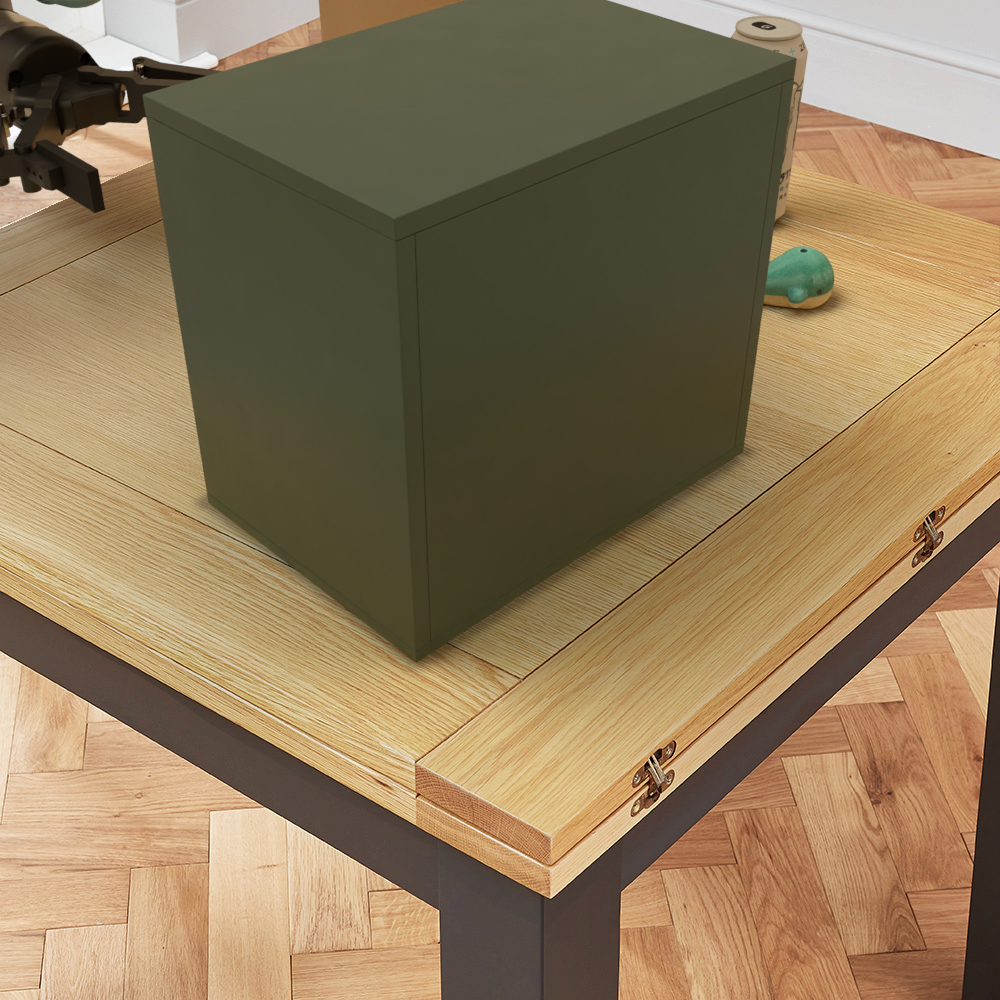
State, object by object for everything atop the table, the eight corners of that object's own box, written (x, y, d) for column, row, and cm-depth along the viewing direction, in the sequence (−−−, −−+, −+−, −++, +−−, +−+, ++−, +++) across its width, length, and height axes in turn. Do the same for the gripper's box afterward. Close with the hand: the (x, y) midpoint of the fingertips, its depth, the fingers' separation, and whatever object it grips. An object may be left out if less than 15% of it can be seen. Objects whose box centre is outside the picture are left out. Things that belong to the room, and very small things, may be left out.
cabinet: (208, 505, 77) (141, 94, 62) (531, 343, 91) (537, -22, 77) (416, 666, 67) (394, 218, 52) (743, 455, 81) (797, 57, 66)
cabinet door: (406, 182, 112) (393, -127, 97) (597, 312, 94) (615, -40, 80) (333, 202, 109) (309, -114, 94) (517, 339, 91) (521, -21, 77)
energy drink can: (747, 241, 103) (772, 46, 94) (691, 214, 107) (709, 24, 98) (799, 220, 106) (828, 28, 97) (743, 194, 110) (766, 7, 101)
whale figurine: (843, 315, 94) (852, 266, 92) (744, 325, 93) (750, 276, 91) (812, 276, 99) (819, 229, 97) (716, 286, 98) (722, 238, 96)
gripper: (181, 85, 109) (344, 163, 97) (-121, 171, 95) (25, 274, 83) (168, -11, 105) (337, 59, 92) (-151, 65, 91) (-2, 159, 79)
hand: (190, 161), depth 88 cm, fingers open, 13 cm apart
